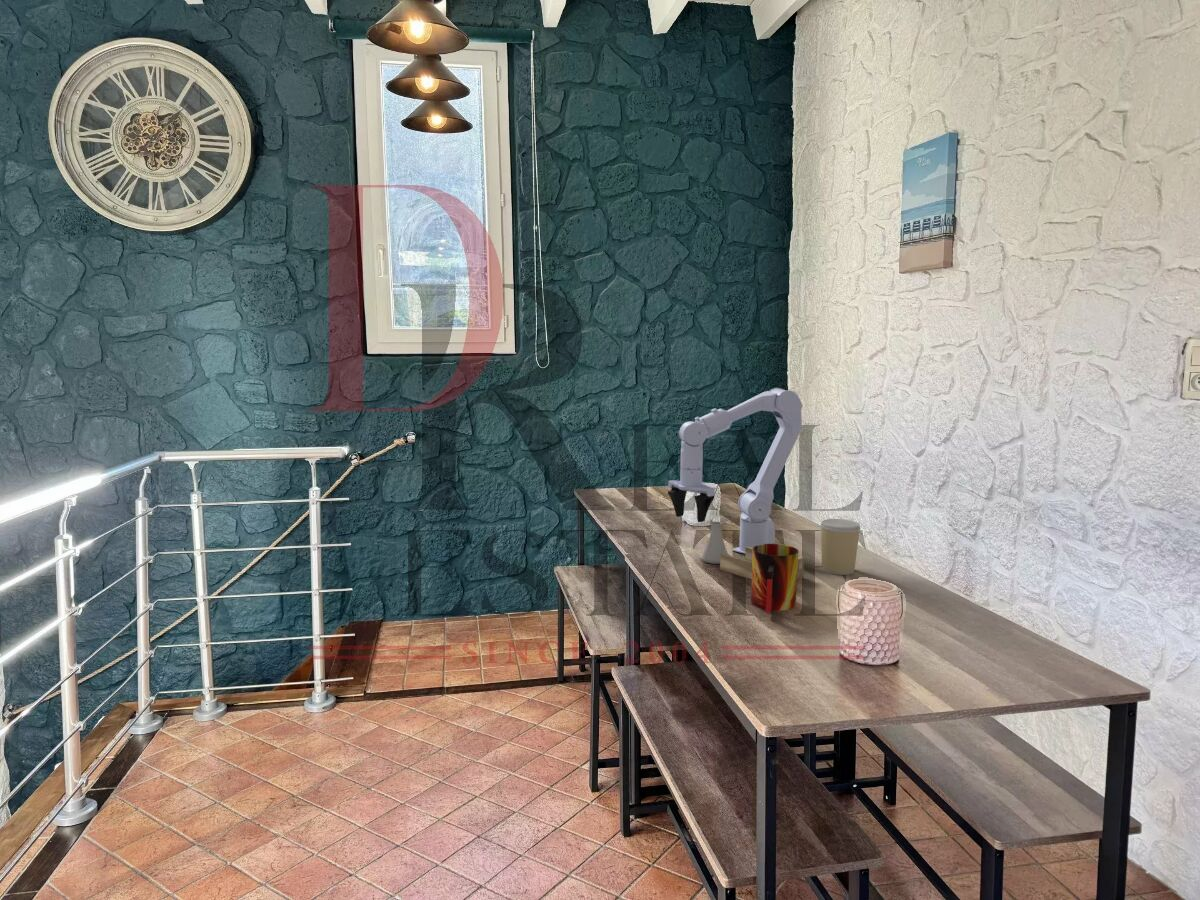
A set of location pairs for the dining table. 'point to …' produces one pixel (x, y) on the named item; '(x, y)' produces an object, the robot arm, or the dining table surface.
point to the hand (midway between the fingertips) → (690, 518)
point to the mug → (774, 577)
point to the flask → (714, 544)
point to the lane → (748, 564)
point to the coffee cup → (839, 545)
